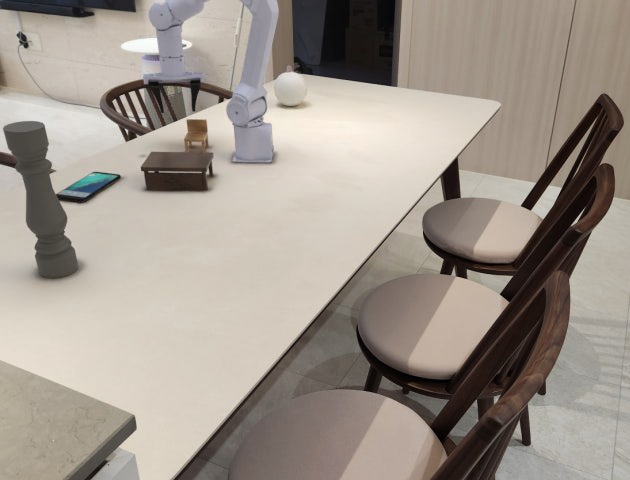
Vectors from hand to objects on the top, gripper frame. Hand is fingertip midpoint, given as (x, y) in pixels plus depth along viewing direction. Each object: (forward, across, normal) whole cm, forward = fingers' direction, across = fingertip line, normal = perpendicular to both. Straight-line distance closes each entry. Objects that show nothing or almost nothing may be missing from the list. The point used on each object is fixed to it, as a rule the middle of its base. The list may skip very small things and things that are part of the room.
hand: (178, 111), depth 161 cm
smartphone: (+9, +21, +25) cm, 34 cm away
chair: (+9, -4, +5) cm, 11 cm away
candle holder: (+9, +24, +62) cm, 67 cm away
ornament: (+9, -35, -33) cm, 49 cm away
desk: (+9, +2, +26) cm, 28 cm away
